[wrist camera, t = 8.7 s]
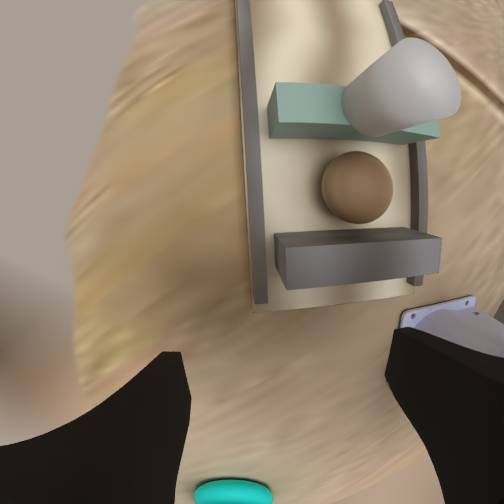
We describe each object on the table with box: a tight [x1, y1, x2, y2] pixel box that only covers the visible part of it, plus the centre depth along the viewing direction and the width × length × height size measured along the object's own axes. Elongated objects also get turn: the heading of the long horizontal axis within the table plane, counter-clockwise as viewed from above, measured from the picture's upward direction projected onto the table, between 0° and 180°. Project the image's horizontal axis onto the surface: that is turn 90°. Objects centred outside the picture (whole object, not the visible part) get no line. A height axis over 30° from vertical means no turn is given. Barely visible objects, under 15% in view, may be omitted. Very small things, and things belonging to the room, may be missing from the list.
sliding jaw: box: [267, 38, 461, 145], centre depth 10 cm, size 9×3×9 cm, turn 93°
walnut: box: [322, 151, 393, 224], centre depth 14 cm, size 4×4×4 cm
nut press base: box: [235, 0, 442, 313], centre depth 14 cm, size 12×24×6 cm, turn 3°
